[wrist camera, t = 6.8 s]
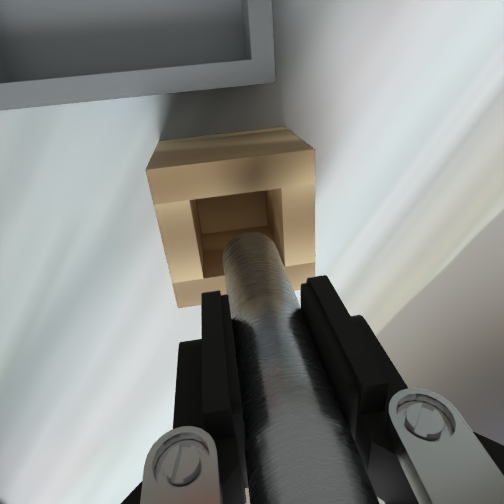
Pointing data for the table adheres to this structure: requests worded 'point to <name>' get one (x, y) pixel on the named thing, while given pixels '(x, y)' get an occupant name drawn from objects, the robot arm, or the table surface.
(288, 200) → the oak block
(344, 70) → the table surface
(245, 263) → the cylinder
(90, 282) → the table surface
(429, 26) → the table surface
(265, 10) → the tray
